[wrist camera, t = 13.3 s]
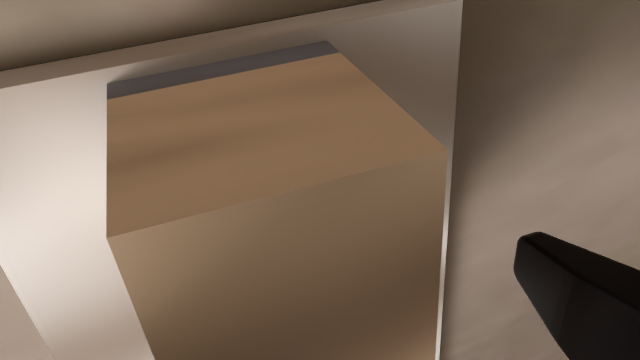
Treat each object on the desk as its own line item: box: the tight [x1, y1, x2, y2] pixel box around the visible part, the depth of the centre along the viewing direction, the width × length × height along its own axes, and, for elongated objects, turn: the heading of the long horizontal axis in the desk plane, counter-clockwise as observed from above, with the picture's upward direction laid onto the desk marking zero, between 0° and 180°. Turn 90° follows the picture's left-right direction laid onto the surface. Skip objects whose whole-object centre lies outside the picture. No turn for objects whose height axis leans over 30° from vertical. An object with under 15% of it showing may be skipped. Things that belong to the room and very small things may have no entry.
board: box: [0, 0, 463, 360], centre depth 15 cm, size 16×11×1 cm
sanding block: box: [106, 40, 448, 360], centre depth 11 cm, size 7×4×5 cm, turn 5°
